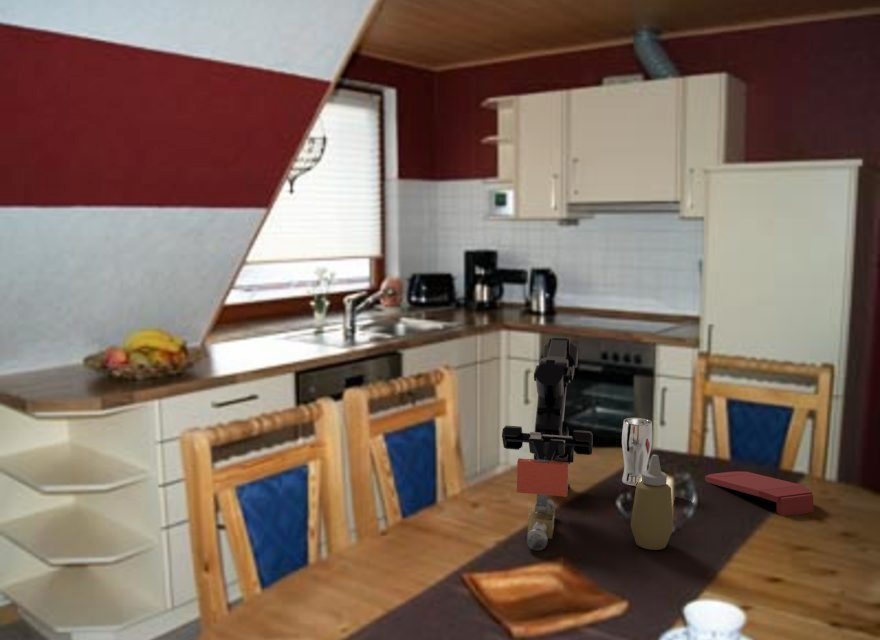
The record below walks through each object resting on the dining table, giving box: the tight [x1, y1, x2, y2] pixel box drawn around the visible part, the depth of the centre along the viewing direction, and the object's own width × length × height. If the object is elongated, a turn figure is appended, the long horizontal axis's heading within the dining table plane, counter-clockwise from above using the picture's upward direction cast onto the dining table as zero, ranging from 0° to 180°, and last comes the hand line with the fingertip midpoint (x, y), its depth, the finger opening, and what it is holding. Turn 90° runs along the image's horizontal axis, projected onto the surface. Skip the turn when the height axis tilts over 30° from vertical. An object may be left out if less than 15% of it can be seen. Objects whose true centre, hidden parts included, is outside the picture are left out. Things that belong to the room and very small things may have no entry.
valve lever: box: [516, 457, 570, 513], centre depth 160 cm, size 2×10×11 cm, turn 77°
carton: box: [704, 470, 815, 517], centre depth 184 cm, size 12×5×25 cm
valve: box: [526, 497, 555, 552], centre depth 161 cm, size 18×5×4 cm, turn 168°
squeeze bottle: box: [629, 454, 674, 551], centre depth 154 cm, size 8×8×18 cm
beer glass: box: [621, 417, 653, 487], centre depth 190 cm, size 7×7×15 cm
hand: (544, 476), depth 163 cm, fingers closed
